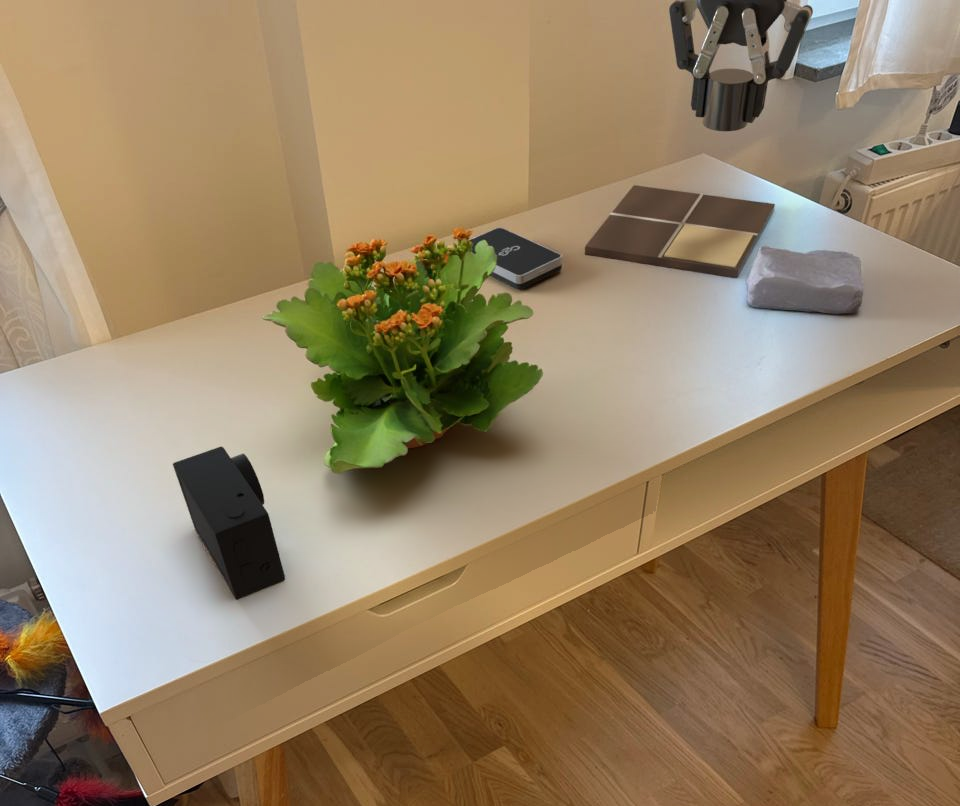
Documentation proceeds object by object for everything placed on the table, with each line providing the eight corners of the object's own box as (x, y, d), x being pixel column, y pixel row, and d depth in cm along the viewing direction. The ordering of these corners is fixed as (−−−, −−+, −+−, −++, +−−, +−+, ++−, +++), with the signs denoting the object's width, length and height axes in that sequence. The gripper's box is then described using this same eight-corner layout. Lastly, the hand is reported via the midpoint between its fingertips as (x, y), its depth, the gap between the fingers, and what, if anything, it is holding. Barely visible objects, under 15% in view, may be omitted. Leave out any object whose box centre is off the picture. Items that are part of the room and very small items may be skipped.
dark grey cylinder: (751, 117, 102) (759, 70, 98) (741, 133, 99) (748, 85, 96) (709, 113, 103) (714, 66, 100) (697, 128, 100) (702, 81, 97)
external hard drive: (500, 242, 116) (499, 226, 115) (564, 272, 110) (565, 256, 109) (456, 262, 113) (455, 245, 112) (520, 294, 107) (520, 277, 106)
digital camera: (300, 575, 78) (283, 507, 73) (236, 600, 76) (215, 533, 71) (254, 506, 84) (235, 439, 79) (194, 528, 82) (171, 461, 77)
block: (745, 283, 110) (742, 309, 102) (753, 238, 107) (752, 262, 99) (852, 295, 108) (858, 322, 100) (864, 250, 105) (872, 275, 97)
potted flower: (241, 399, 95) (194, 223, 83) (443, 323, 104) (429, 153, 91) (361, 533, 81) (327, 345, 68) (585, 432, 89) (593, 248, 76)
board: (773, 211, 118) (775, 202, 117) (736, 278, 107) (738, 268, 107) (633, 192, 124) (633, 183, 123) (584, 254, 113) (584, 244, 112)
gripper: (664, -77, 88) (648, 123, 101) (824, -70, 84) (787, 138, 96) (687, -95, 93) (669, 98, 105) (840, -90, 88) (802, 112, 101)
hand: (726, 116), depth 101 cm, fingers closed on dark grey cylinder, 4 cm apart
